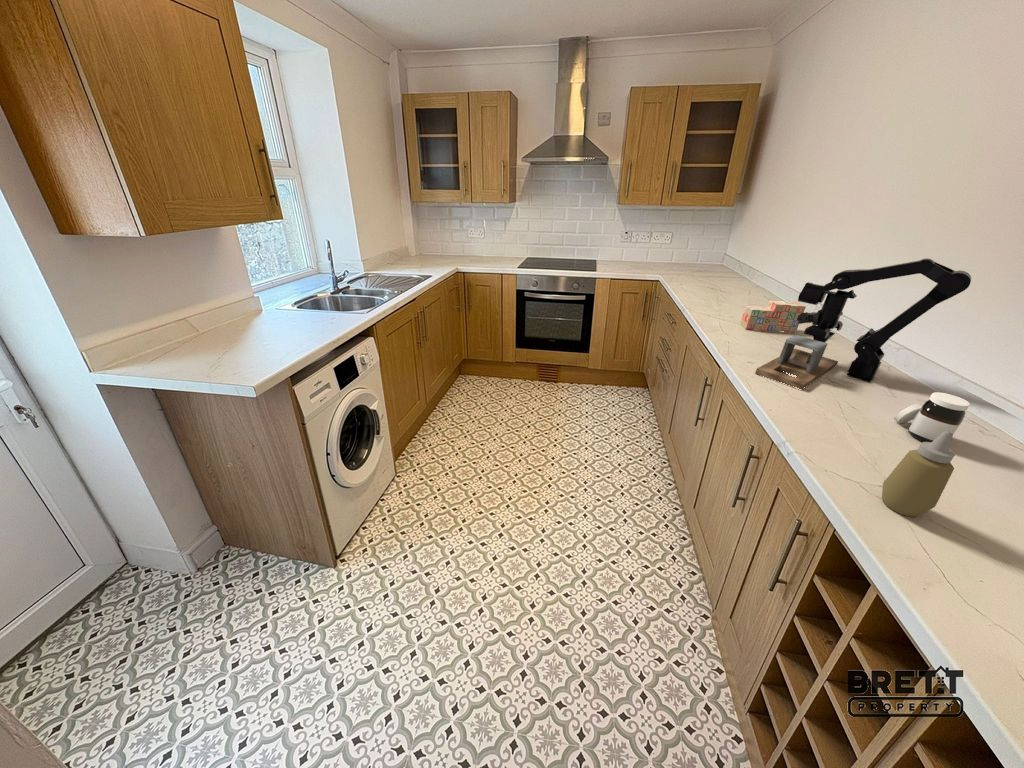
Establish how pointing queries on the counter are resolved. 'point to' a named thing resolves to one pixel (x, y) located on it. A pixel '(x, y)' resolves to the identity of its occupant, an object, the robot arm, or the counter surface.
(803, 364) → the sled
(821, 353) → the tunnel deck
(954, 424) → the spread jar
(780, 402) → the counter surface
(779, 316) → the stack of blocks
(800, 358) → the maple block
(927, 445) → the squeeze bottle
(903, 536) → the counter surface
